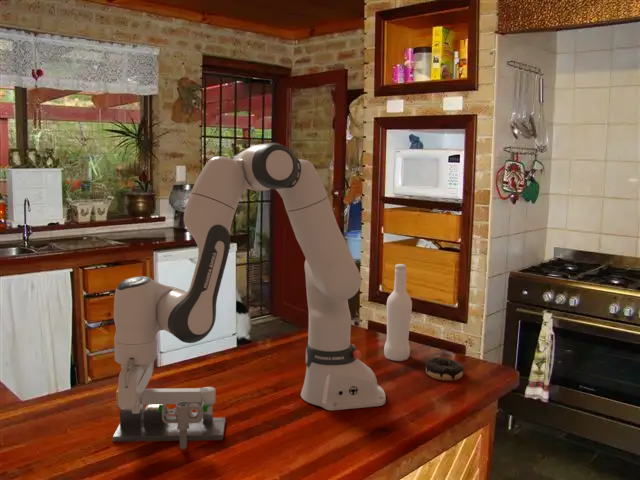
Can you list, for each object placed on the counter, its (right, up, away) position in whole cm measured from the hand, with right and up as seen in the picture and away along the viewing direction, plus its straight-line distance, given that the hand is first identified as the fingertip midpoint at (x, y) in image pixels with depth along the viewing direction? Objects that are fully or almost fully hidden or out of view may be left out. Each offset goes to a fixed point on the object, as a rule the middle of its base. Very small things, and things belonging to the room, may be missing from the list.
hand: (137, 410), depth 138 cm
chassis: (+6, -6, +5) cm, 10 cm away
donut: (+77, -2, +46) cm, 90 cm away
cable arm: (+5, 0, +6) cm, 8 cm away
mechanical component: (+11, -8, -2) cm, 13 cm away
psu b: (-3, -4, +6) cm, 8 cm away
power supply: (+2, -4, +7) cm, 8 cm away
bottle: (+65, +1, +59) cm, 88 cm away
